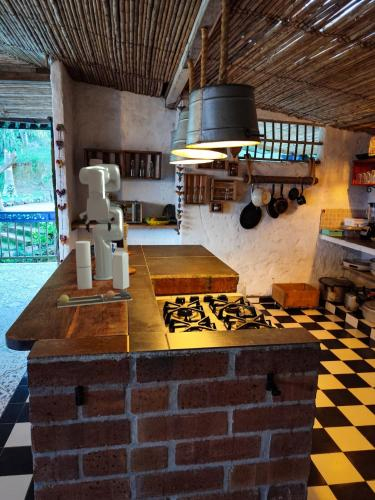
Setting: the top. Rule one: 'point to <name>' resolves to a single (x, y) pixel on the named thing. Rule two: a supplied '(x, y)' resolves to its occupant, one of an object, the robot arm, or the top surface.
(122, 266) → the milk
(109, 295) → the terracotta ball
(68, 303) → the wooden picture frame
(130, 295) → the wooden rectangular frame
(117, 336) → the top surface
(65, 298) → the ochre ball
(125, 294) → the charcoal ball
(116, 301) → the board
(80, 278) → the cylindrical container
